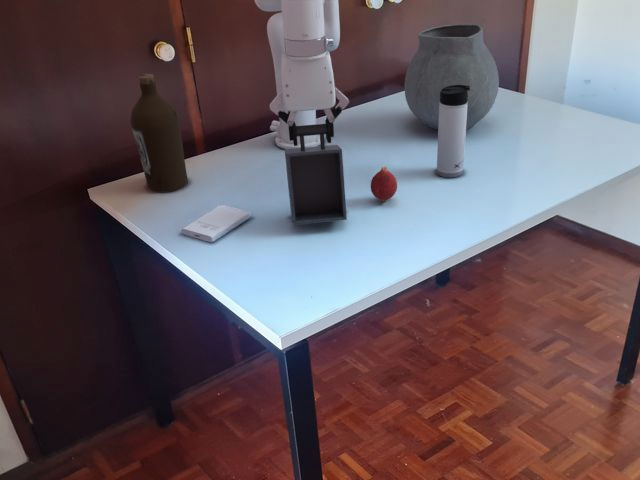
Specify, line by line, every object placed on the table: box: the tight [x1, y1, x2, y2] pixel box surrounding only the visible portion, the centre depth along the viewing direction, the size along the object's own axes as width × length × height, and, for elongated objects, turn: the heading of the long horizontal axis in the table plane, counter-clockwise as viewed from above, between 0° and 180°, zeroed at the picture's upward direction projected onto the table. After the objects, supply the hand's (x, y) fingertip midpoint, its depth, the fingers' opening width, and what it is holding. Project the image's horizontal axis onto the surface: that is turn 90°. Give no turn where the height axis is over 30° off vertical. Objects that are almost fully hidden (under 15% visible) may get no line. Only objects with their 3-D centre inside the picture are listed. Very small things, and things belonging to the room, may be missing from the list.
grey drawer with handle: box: [284, 123, 348, 226], centre depth 144 cm, size 19×11×9 cm
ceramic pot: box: [404, 23, 500, 130], centre depth 185 cm, size 24×24×25 cm
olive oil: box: [130, 73, 189, 193], centre depth 160 cm, size 11×11×25 cm
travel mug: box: [436, 85, 470, 179], centre depth 161 cm, size 6×7×20 cm
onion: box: [370, 165, 398, 203], centre depth 154 cm, size 6×6×8 cm
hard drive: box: [181, 204, 251, 243], centre depth 149 cm, size 2×8×12 cm
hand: (311, 141), depth 142 cm, fingers closed on grey drawer with handle, 6 cm apart
